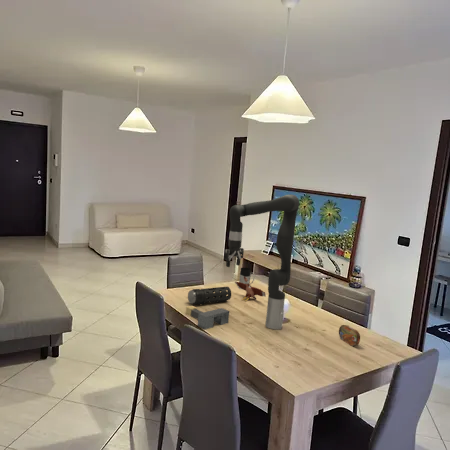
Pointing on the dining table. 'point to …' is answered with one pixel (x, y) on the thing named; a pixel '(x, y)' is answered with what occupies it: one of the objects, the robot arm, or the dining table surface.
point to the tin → (349, 335)
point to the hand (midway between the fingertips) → (232, 266)
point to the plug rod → (192, 311)
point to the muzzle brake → (209, 295)
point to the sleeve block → (213, 318)
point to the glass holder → (245, 275)
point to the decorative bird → (250, 290)
